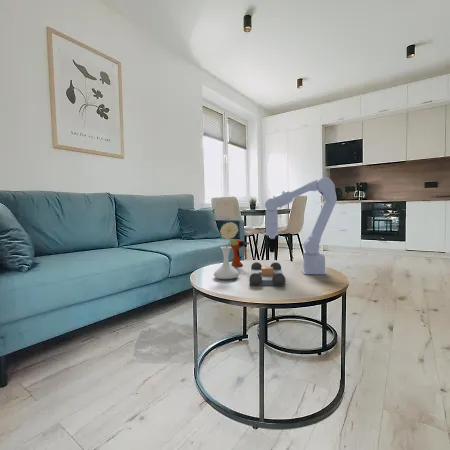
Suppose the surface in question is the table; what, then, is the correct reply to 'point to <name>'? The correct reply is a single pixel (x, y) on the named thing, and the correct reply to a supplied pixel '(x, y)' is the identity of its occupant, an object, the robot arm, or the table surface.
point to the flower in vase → (227, 253)
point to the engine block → (267, 271)
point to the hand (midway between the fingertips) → (272, 252)
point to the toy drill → (237, 253)
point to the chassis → (258, 279)
